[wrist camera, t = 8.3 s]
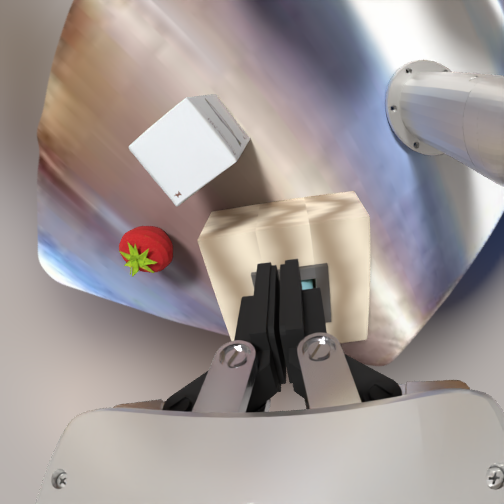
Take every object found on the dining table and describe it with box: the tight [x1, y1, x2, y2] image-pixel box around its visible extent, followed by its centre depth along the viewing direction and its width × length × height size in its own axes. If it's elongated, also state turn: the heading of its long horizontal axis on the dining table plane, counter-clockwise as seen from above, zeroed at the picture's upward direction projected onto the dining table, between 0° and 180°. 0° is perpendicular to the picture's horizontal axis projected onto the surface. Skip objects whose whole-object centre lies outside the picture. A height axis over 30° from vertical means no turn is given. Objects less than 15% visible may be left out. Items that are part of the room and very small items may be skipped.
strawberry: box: [119, 226, 173, 277], centre depth 39 cm, size 6×8×10 cm
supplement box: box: [129, 94, 250, 206], centre depth 30 cm, size 7×7×13 cm
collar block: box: [198, 191, 370, 343], centre depth 40 cm, size 19×19×9 cm
